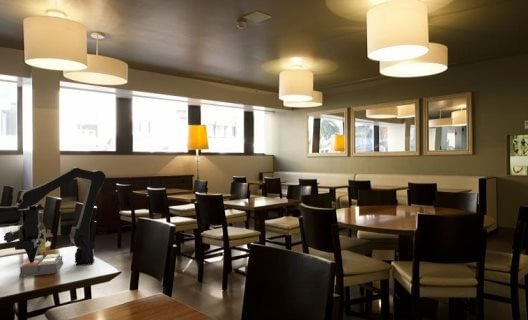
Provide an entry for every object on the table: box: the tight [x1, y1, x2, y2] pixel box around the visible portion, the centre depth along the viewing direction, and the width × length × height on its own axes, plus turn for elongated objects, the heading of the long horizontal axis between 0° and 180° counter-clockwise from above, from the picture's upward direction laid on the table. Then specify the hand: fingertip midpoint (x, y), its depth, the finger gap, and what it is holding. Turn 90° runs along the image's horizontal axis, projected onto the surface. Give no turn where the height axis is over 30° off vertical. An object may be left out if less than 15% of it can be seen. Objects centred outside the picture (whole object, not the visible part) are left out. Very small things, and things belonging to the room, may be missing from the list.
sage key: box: [45, 253, 61, 259], centre depth 150 cm, size 4×4×2 cm
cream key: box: [41, 258, 57, 265], centre depth 145 cm, size 4×4×2 cm
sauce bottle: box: [36, 211, 47, 257], centre depth 167 cm, size 7×6×20 cm
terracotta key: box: [22, 260, 40, 267], centre depth 143 cm, size 4×4×2 cm
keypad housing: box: [19, 255, 64, 278], centre depth 147 cm, size 12×12×4 cm
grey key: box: [27, 255, 44, 261], centre depth 148 cm, size 4×4×2 cm
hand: (31, 262), depth 143 cm, fingers closed, pressing on terracotta key
